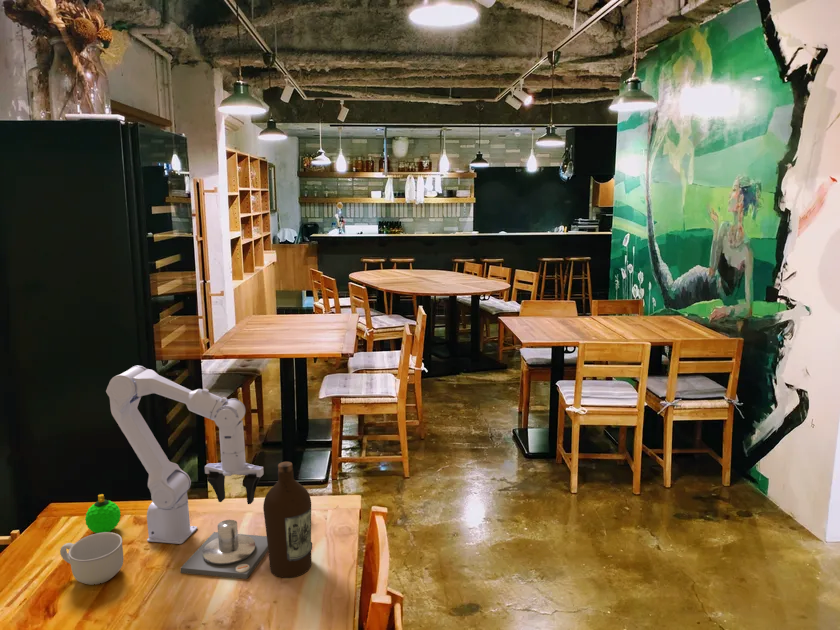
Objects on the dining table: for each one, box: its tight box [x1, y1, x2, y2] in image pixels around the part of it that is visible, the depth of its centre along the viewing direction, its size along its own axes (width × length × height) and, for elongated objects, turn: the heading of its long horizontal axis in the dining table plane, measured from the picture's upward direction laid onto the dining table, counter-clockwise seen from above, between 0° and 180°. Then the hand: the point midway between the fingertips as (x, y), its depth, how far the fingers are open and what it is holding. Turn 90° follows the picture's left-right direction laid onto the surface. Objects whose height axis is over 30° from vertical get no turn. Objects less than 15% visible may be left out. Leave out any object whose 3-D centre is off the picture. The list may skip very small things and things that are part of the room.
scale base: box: [179, 531, 268, 580], centre depth 151 cm, size 16×16×2 cm
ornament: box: [84, 493, 122, 534], centre depth 163 cm, size 8×8×10 cm
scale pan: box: [202, 534, 255, 565], centre depth 151 cm, size 12×12×1 cm
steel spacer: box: [217, 519, 239, 553], centre depth 151 cm, size 4×4×6 cm
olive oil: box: [262, 461, 313, 579], centre depth 145 cm, size 11×11×25 cm
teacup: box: [59, 531, 124, 586], centre depth 144 cm, size 14×11×8 cm
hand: (236, 501), depth 159 cm, fingers open, 7 cm apart
